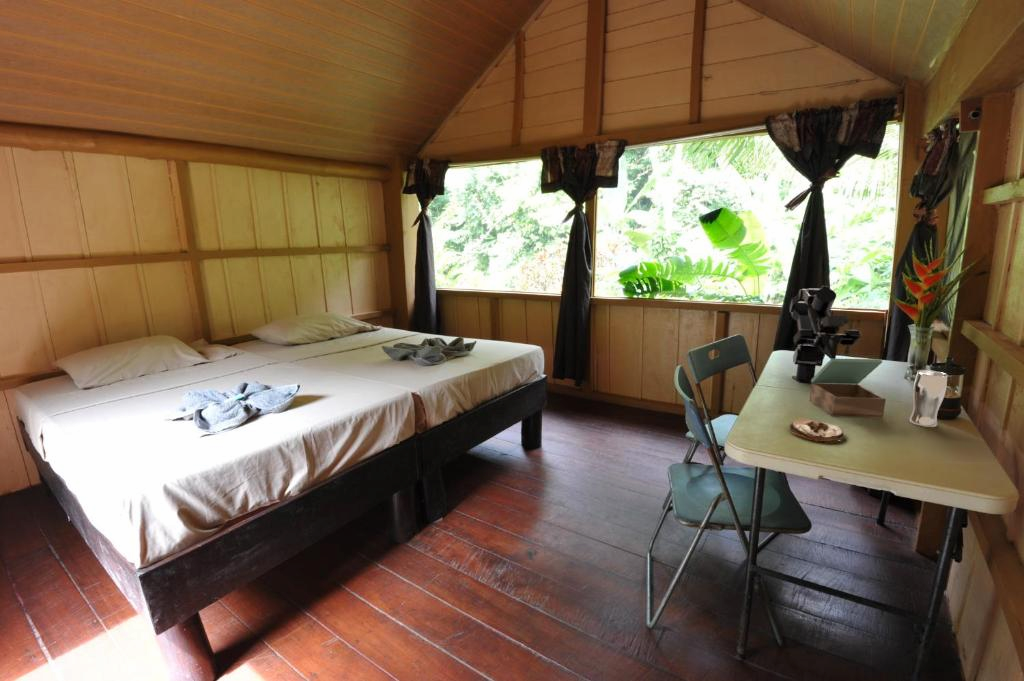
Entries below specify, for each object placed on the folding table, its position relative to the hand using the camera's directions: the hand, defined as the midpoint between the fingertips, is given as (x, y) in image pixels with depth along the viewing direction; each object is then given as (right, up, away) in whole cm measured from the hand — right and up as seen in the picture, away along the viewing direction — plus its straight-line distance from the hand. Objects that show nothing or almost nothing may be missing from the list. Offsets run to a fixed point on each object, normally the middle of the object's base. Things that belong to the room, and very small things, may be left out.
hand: (833, 359), depth 158 cm
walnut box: (-1, -15, -6) cm, 16 cm away
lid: (-1, -4, -7) cm, 8 cm away
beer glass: (+14, -18, -17) cm, 29 cm away
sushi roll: (-21, -20, -24) cm, 37 cm away
